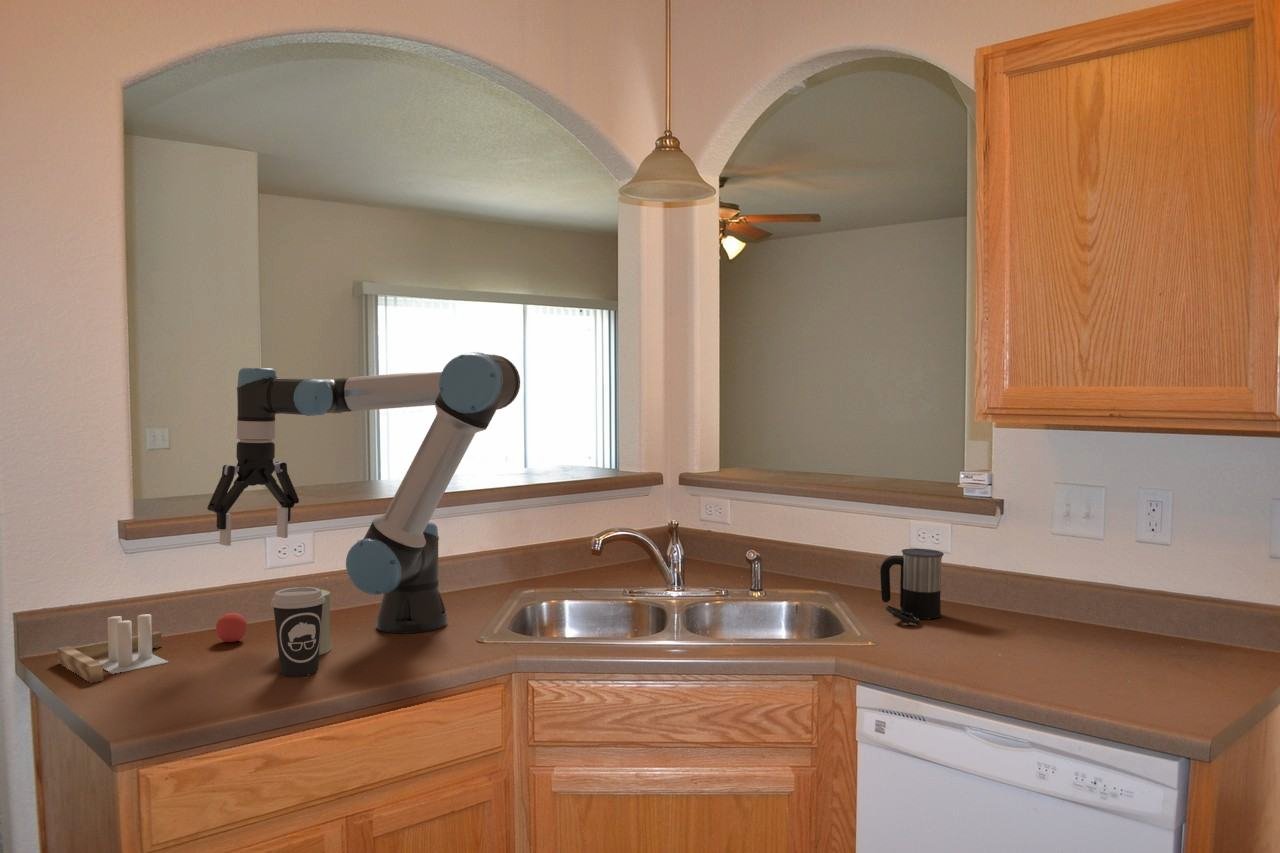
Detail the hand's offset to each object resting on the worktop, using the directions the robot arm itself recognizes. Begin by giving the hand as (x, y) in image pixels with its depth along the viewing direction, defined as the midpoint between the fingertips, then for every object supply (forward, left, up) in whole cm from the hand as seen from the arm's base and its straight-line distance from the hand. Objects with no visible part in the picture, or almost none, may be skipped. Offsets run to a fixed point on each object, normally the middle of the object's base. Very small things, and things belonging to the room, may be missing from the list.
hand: (254, 541), depth 205 cm
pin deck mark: (-2, +26, -20) cm, 33 cm away
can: (-20, -1, -20) cm, 28 cm away
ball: (-2, +6, -17) cm, 18 cm away
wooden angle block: (-2, +27, -20) cm, 33 cm away
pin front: (-2, +23, -20) cm, 31 cm away
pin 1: (+1, +28, -20) cm, 34 cm away
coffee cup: (-32, +7, -20) cm, 38 cm away
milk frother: (-97, -107, -20) cm, 146 cm away
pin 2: (-4, +28, -20) cm, 34 cm away
